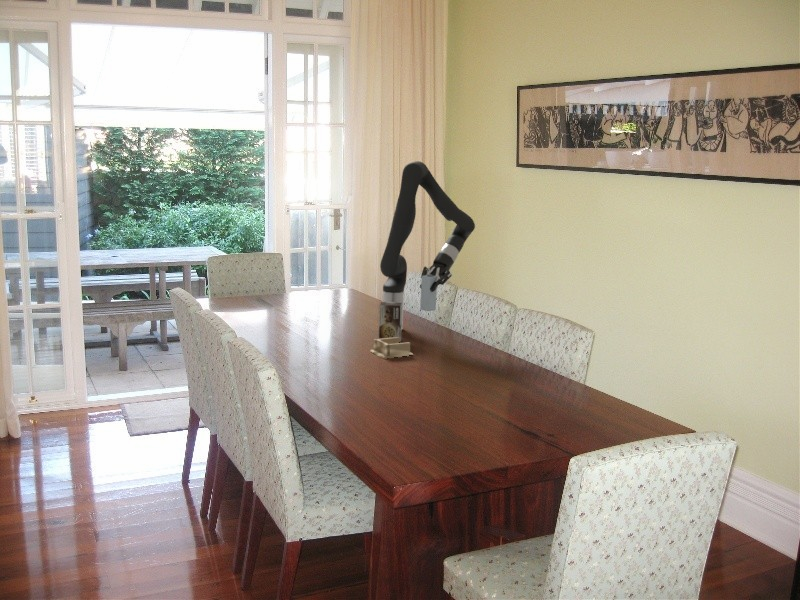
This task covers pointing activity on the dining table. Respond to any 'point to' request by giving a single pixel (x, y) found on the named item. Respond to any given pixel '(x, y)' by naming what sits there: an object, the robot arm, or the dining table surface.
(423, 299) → the post
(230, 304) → the dining table surface
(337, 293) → the dining table surface
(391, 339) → the keeper pocket
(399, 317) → the coffee box
